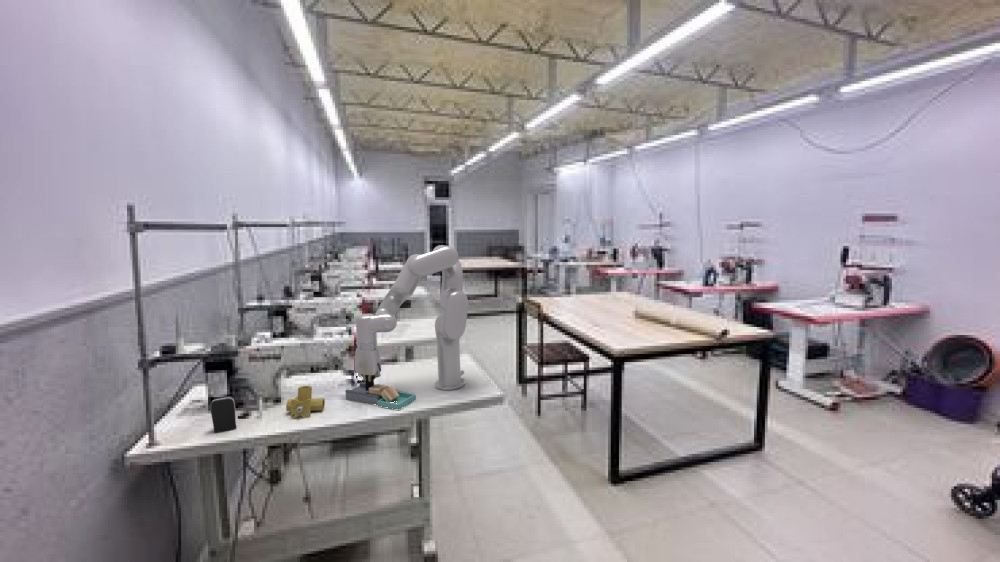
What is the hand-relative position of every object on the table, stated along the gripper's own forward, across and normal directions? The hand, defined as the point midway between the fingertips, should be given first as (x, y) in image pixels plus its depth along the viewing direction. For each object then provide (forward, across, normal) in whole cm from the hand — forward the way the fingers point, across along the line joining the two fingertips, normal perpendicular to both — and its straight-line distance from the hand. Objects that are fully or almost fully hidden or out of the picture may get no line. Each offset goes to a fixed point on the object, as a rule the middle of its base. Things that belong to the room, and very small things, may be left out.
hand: (369, 389), depth 176 cm
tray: (+4, +13, 0) cm, 13 cm away
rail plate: (+4, 0, 0) cm, 4 cm away
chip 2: (+1, +9, 0) cm, 9 cm away
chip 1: (+1, +4, 0) cm, 4 cm away
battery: (+4, -29, -40) cm, 50 cm away
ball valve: (+4, -13, -20) cm, 25 cm away
